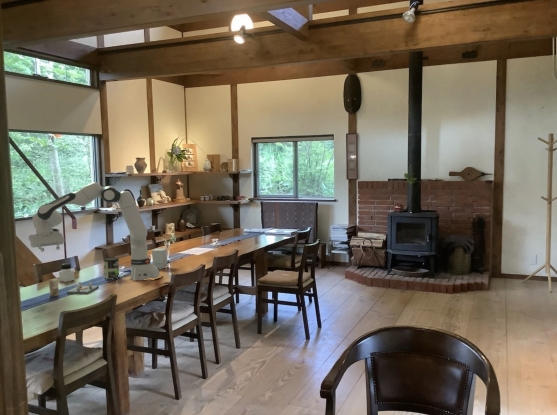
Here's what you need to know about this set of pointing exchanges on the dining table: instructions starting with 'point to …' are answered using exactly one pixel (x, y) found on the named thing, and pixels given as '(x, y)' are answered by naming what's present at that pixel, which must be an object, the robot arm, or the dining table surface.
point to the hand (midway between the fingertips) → (50, 250)
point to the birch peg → (53, 287)
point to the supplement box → (159, 258)
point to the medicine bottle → (66, 273)
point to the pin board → (82, 289)
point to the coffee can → (111, 267)
